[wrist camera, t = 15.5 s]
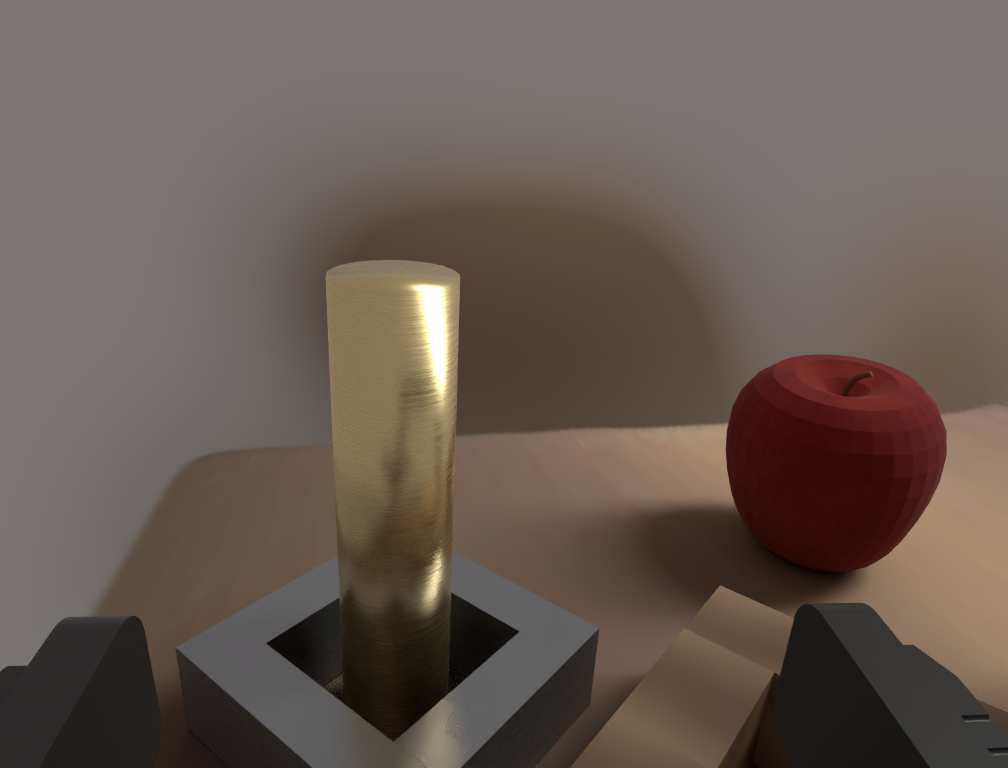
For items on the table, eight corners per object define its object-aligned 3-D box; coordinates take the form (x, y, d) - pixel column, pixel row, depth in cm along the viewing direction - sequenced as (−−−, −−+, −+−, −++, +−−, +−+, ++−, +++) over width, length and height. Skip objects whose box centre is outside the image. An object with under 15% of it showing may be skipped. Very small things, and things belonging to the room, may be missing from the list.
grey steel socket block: (398, 588, 32) (398, 521, 31) (589, 703, 27) (599, 627, 25) (187, 727, 25) (175, 647, 24) (392, 927, 19) (391, 837, 18)
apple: (677, 550, 36) (709, 362, 32) (750, 480, 43) (783, 319, 39) (881, 640, 31) (947, 427, 27) (926, 544, 38) (984, 364, 34)
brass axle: (397, 665, 28) (395, 254, 22) (468, 713, 26) (487, 276, 20) (323, 722, 25) (297, 272, 19) (395, 781, 23) (392, 300, 17)
